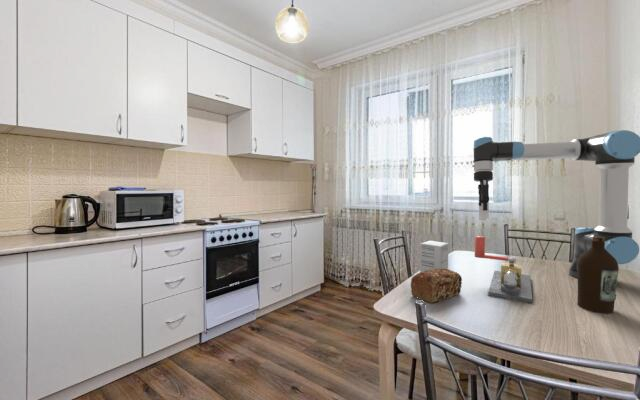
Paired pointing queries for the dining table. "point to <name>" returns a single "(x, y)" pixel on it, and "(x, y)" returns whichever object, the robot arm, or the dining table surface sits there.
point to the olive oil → (597, 278)
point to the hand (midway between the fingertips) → (483, 219)
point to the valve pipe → (511, 283)
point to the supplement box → (433, 255)
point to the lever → (481, 251)
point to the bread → (436, 285)
